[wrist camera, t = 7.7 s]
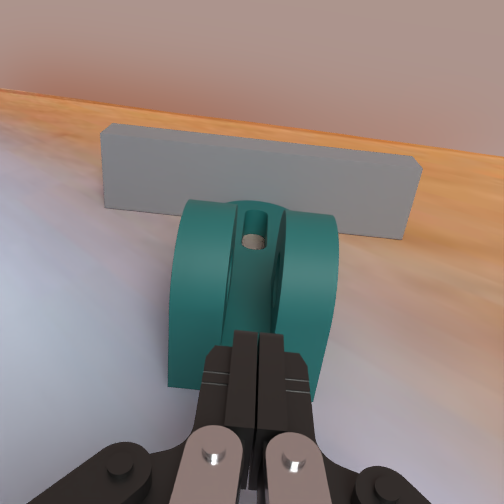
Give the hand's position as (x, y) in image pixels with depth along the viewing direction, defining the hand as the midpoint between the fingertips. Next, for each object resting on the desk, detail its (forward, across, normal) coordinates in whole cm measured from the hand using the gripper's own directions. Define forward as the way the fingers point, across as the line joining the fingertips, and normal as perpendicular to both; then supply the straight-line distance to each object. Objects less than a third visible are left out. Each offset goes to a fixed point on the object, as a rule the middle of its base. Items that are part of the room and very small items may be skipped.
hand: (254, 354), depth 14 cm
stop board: (+24, 0, +6) cm, 25 cm away
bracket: (+14, 0, +7) cm, 15 cm away
